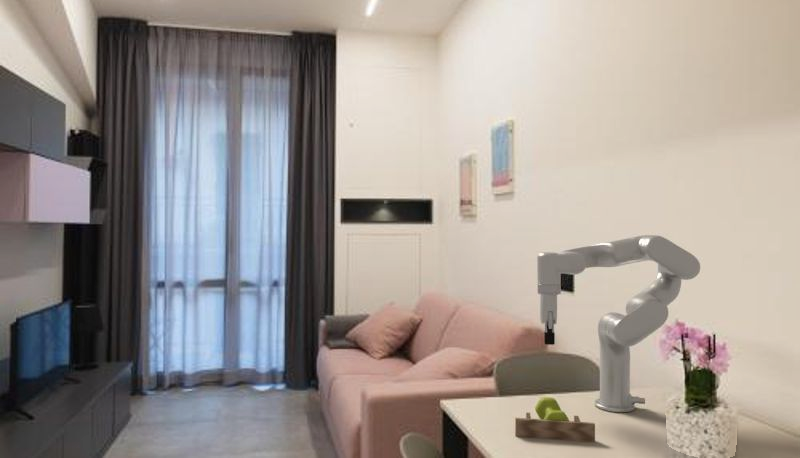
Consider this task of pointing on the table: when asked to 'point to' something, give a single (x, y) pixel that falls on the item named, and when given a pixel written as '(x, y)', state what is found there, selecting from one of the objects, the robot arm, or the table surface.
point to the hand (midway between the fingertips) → (549, 343)
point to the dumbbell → (550, 410)
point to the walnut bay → (555, 429)
